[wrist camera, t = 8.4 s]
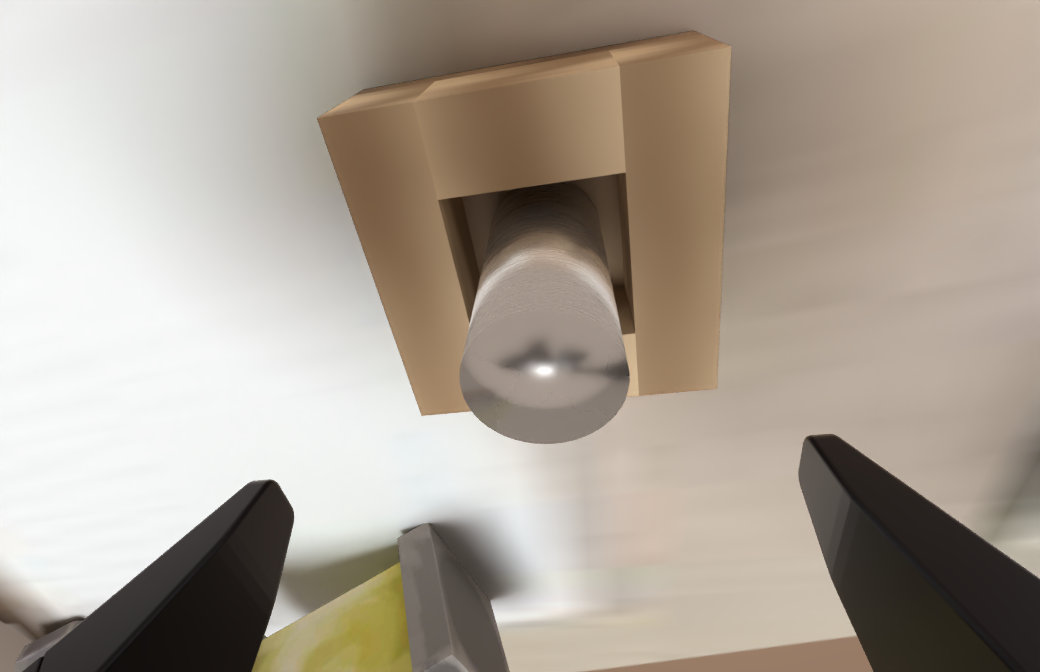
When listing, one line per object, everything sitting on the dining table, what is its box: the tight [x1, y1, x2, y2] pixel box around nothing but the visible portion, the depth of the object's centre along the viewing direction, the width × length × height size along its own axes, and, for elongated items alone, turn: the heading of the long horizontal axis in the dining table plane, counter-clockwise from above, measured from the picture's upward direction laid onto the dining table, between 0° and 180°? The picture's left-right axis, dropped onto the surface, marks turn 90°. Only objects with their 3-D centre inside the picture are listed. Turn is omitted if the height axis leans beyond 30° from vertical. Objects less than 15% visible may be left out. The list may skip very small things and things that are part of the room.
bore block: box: [317, 31, 731, 416], centre depth 17 cm, size 10×10×4 cm
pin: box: [459, 181, 630, 444], centre depth 15 cm, size 4×4×8 cm
